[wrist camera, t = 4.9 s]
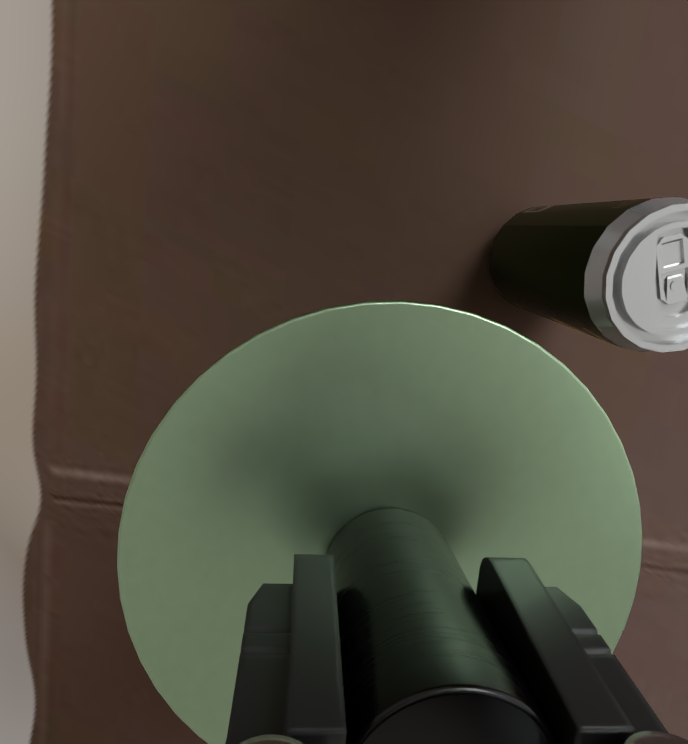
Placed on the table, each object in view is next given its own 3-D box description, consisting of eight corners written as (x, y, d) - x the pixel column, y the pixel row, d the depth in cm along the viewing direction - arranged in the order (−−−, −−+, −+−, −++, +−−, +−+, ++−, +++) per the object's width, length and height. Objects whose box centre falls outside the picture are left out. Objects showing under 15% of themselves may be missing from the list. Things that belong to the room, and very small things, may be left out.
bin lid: (69, 364, 12) (-212, 456, 6) (575, 248, 12) (876, 204, 6) (206, 803, 14) (118, 1257, 7) (642, 692, 14) (924, 1031, 8)
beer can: (476, 220, 29) (588, 218, 17) (575, 195, 29) (753, 176, 17) (493, 318, 30) (608, 375, 19) (587, 293, 30) (759, 336, 19)
